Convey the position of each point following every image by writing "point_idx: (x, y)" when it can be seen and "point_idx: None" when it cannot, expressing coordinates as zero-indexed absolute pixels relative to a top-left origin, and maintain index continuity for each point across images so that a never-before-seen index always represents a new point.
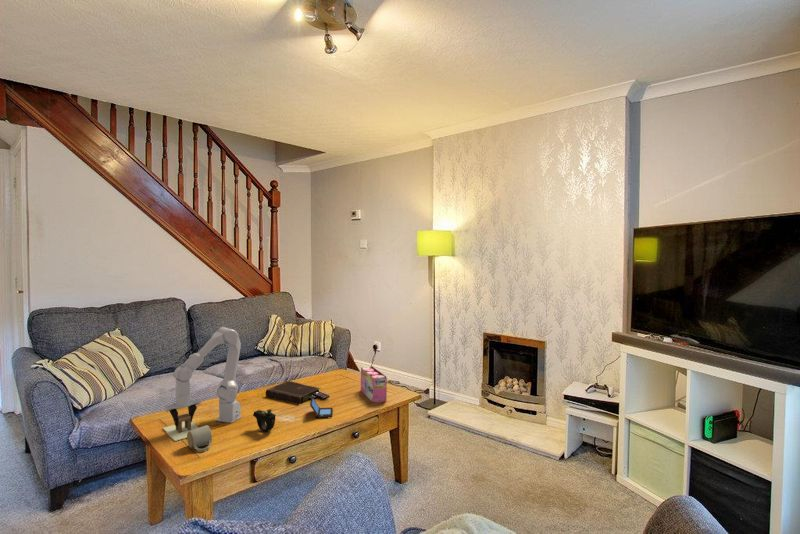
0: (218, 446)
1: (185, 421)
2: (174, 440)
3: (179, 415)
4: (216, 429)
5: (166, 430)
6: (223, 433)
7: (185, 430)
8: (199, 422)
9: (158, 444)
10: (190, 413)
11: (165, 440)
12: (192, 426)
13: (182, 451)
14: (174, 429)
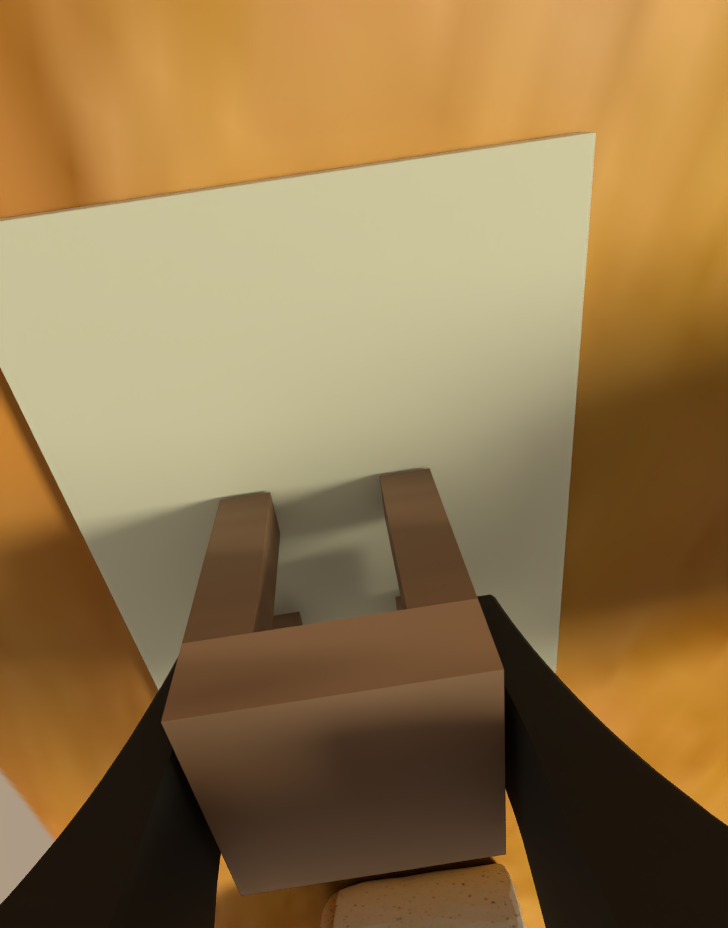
0: (532, 921)
1: (401, 599)
2: None
3: (277, 716)
4: (711, 669)
5: (49, 443)
6: (697, 773)
7: (365, 589)
8: (695, 280)
9: (19, 760)
10: (537, 864)
11: (90, 703)
12: (501, 492)
13: (267, 913)
14: (198, 470)
